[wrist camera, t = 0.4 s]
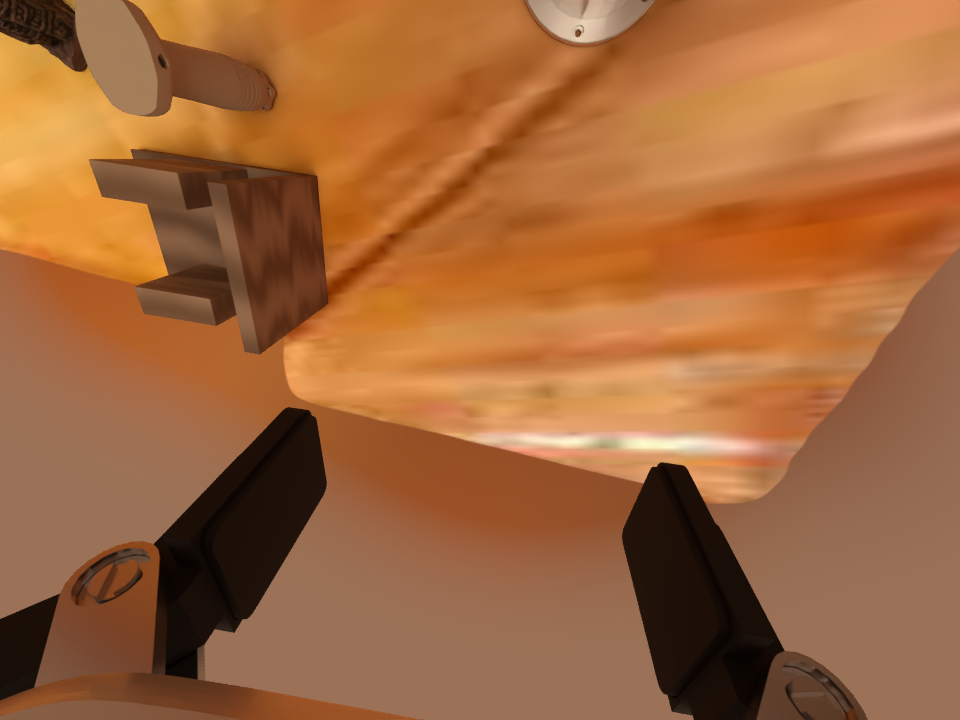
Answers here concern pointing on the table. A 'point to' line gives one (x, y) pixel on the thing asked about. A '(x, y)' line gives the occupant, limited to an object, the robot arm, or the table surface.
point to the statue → (44, 28)
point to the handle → (159, 65)
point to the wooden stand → (227, 241)
